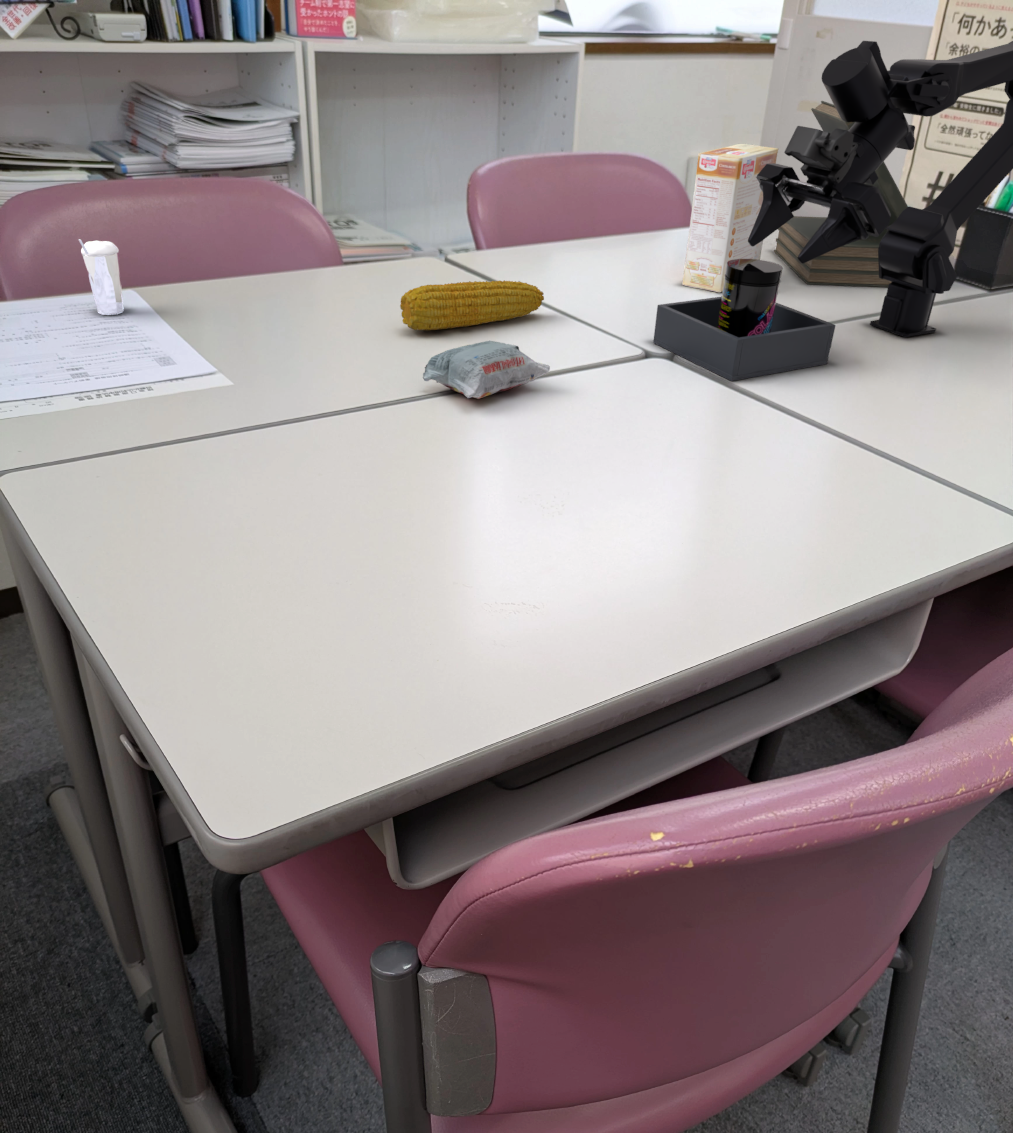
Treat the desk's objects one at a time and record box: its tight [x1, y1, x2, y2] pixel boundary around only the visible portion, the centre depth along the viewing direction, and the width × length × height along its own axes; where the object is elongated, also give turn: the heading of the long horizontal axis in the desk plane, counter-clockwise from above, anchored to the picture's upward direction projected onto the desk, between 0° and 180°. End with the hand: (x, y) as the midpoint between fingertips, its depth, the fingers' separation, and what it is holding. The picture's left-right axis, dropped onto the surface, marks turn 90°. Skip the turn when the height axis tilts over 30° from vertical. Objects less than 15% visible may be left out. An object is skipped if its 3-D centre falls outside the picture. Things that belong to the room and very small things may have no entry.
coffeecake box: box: [681, 143, 779, 293], centre depth 147 cm, size 15×7×20 cm, turn 144°
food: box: [399, 280, 545, 331], centre depth 126 cm, size 21×6×6 cm, turn 123°
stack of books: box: [773, 100, 909, 288], centre depth 156 cm, size 23×20×25 cm
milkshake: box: [77, 238, 125, 316], centre depth 124 cm, size 4×5×10 cm
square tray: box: [652, 296, 836, 382], centre depth 120 cm, size 16×16×5 cm
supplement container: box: [717, 259, 784, 337], centre depth 118 cm, size 7×7×10 cm
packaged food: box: [422, 340, 551, 400], centre depth 105 cm, size 9×12×5 cm
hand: (774, 252), depth 116 cm, fingers open, 9 cm apart
